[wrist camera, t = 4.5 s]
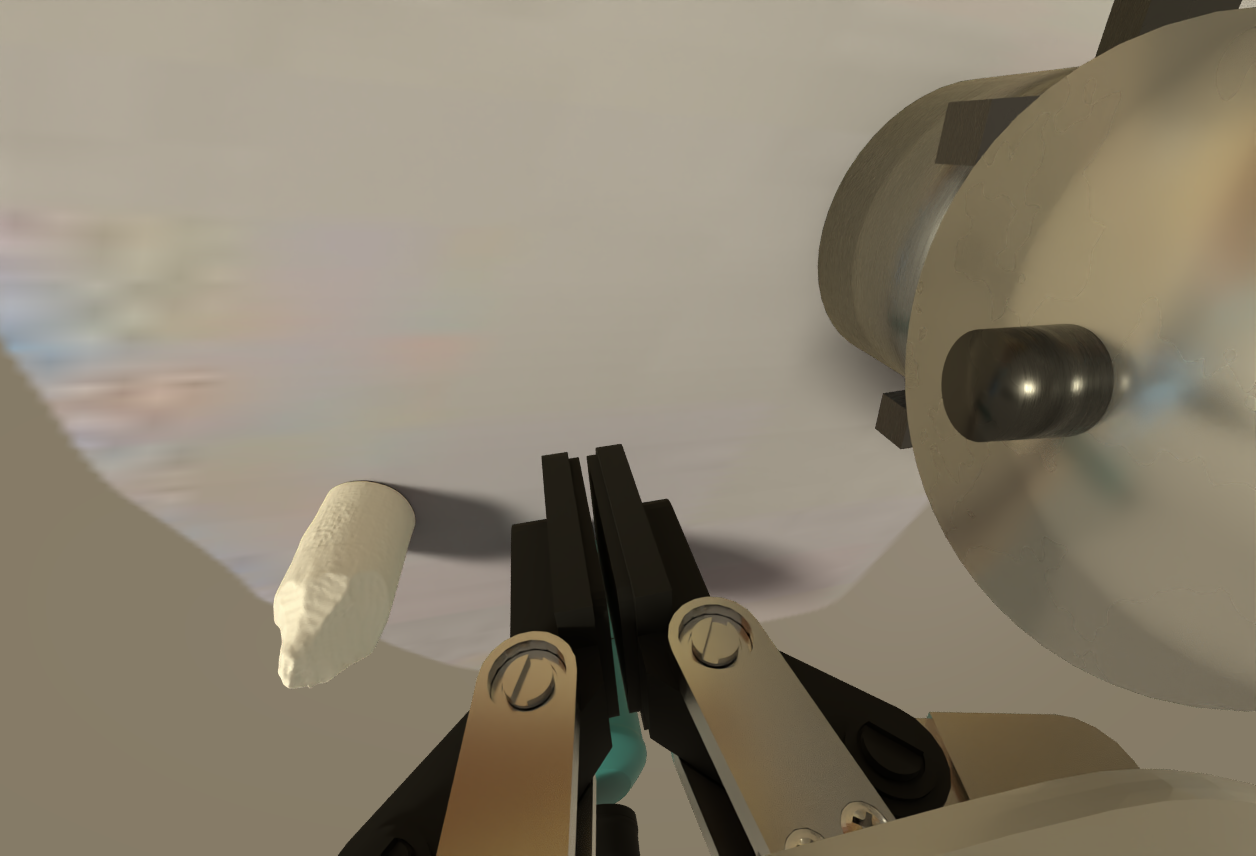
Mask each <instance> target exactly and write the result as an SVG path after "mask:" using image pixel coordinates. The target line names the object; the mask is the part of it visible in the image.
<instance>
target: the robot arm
mask: <svg viewBox="0 0 1256 856" xmlns="http://www.w3.org/2000/svg"><path fill="white" fill-rule="evenodd" d="M587 464H588V473H589V482H590V490H591V499H592V507H593V516H594V524H595V533H596V541H597V547H596V542H595V537H594V532H593V527H592V522H591V517H590V512H589V507H588V502H587V497H586V492H585V487H584V481H583V476H582V471H581V466H580V461H579V457H577V458H570V459H569V458H568V453H567V452H564V453H557V454H551V455H544V456H542V469H543V481H544V494H545V506H546V518H547V519H543V520H537V521H531V522H526V523H520V524H514V525H512V530H511V622H510V638H509V639H507V640H505V641H503V642H502V643H501V644H500V645H499V646H497V647H496V648H495V649H494V650H492V652H491V653H490V654H489V656H488V657H487V658H486V660H485V661H484V662H483V664H482V666H481V669H480V671H479V674H478V676H477V680H476V684H475V689H474V693H473V697H472V702H471V706H470V710H469V711H468V712H467V714H466V715H465V716H464V717H463V718H462V719H461V720H460V721H459V722H458V723H457V724H456V725H455V727H454V728H453V729H452V730H451V731H450V732H449V733H448V734H447V735H446V737H444V739H443V740H442V741H441V742H440V743H439V744H438V745H437V746H436V747H435V748H434V749H433V750H432V752H431V753H430V754H429V755H428V756H427V757H426V758H425V759H424V760H423V761H422V762H421V764H420V765H419V766H418V767H417V768H416V769H415V770H414V771H413V772H412V773H411V774H410V775H409V777H408V778H407V779H406V780H405V781H404V782H403V783H402V784H401V785H400V786H399V787H398V788H397V790H396V791H395V792H394V793H393V794H392V795H391V796H390V797H389V798H388V799H387V800H386V802H385V803H384V804H383V805H382V806H381V807H380V808H379V809H378V810H377V811H376V812H375V813H374V815H373V816H372V817H371V818H370V819H369V820H368V821H367V822H366V823H365V824H364V825H363V826H362V828H361V829H360V830H359V831H358V832H357V833H356V834H355V835H354V836H353V838H351V839H350V841H349V842H348V843H347V844H346V846H345V847H344V848H343V849H342V851H341V852H340V853H339V855H338V856H596V775H595V773H596V772H597V770H598V769H599V767H600V766H601V764H602V763H603V761H604V760H605V758H606V756H607V755H608V753H609V752H610V750H611V749H612V747H613V746H612V738H611V731H610V723H609V718H612V717H616V716H620V712H619V703H618V694H617V685H616V676H615V667H614V658H613V649H612V640H611V631H610V622H609V614H610V619H611V624H612V629H613V635H614V640H615V645H616V650H617V655H618V660H619V665H620V670H621V675H622V680H623V685H624V690H625V696H626V701H627V706H628V710H629V714H630V713H634V712H639V711H640V713H641V717H642V722H643V726H644V730H647V729H649V734H650V738H651V739H653V740H654V741H656V742H657V743H659V744H660V745H662V746H663V747H665V748H666V749H668V750H669V751H671V754H672V758H673V762H674V765H675V767H676V770H677V772H678V775H679V777H680V780H681V782H682V785H683V787H684V790H685V792H686V795H687V797H688V800H689V802H690V804H691V807H692V810H693V812H694V815H695V817H696V820H697V822H698V825H699V827H700V830H701V832H702V835H703V837H704V840H705V842H706V844H707V847H708V849H709V852H710V854H711V856H1256V785H1254V784H1250V783H1246V782H1241V781H1237V780H1232V779H1228V778H1223V777H1219V776H1214V775H1209V774H1202V773H1194V772H1186V771H1178V770H1168V769H1140V768H1139V767H1138V766H1137V764H1136V763H1135V762H1134V760H1133V759H1132V758H1131V757H1130V756H1129V755H1128V754H1127V753H1126V752H1125V751H1124V750H1123V749H1122V748H1121V746H1120V745H1119V744H1118V743H1117V742H1115V741H1114V740H1113V739H1111V738H1110V737H1108V736H1107V735H1106V734H1104V733H1103V732H1101V731H1100V730H1099V729H1097V728H1096V727H1093V726H1091V725H1089V724H1087V723H1085V722H1083V721H1080V720H1078V719H1076V718H1072V717H1067V716H1061V715H1056V714H1011V713H962V712H961V713H960V712H929V714H928V716H927V718H914V717H912V716H910V715H909V714H907V713H905V712H904V711H902V710H901V709H899V708H897V707H895V706H893V705H891V704H889V703H887V702H884V701H882V700H880V699H878V698H876V697H874V696H872V695H870V694H868V693H866V692H864V691H862V690H860V689H858V688H856V687H853V686H851V685H849V684H847V683H845V682H843V681H841V680H839V679H837V678H835V677H833V676H831V675H828V674H827V673H824V672H822V671H820V670H818V669H816V668H814V667H812V666H810V665H808V664H806V663H804V662H802V661H800V660H798V659H795V658H793V657H791V656H789V655H787V654H785V653H783V652H781V651H779V650H778V649H777V648H776V646H775V645H774V643H773V642H772V641H771V639H770V638H769V636H768V635H767V633H766V632H765V631H764V629H763V628H762V626H761V625H760V623H759V622H758V620H757V619H756V618H755V617H754V616H753V615H752V614H751V613H750V612H749V611H748V609H746V608H744V607H743V606H741V605H740V604H738V603H736V602H734V601H731V600H728V599H725V598H722V597H710V595H709V593H708V590H707V588H706V585H705V583H704V581H703V578H702V576H701V574H700V571H699V569H698V566H697V564H696V562H695V559H694V557H693V555H692V552H691V550H690V547H689V545H688V543H687V540H686V538H685V536H684V533H683V531H682V528H681V526H680V524H679V521H678V519H677V517H676V514H675V512H674V510H673V507H672V505H671V503H670V501H669V500H668V499H662V500H656V501H650V502H644V503H642V501H641V499H640V496H639V493H638V490H637V487H636V484H635V481H634V478H633V475H632V472H631V470H630V467H629V464H628V461H627V458H626V455H625V452H624V449H623V446H622V444H617V445H610V446H604V447H597V448H596V455H590V456H587ZM597 550H598V553H597ZM598 557H599V558H598ZM606 599H607V600H606ZM607 604H608V606H607ZM608 609H609V614H608Z"/></svg>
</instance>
